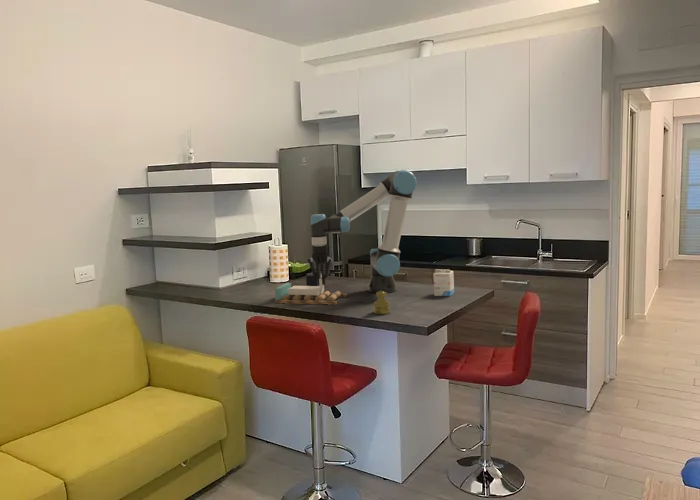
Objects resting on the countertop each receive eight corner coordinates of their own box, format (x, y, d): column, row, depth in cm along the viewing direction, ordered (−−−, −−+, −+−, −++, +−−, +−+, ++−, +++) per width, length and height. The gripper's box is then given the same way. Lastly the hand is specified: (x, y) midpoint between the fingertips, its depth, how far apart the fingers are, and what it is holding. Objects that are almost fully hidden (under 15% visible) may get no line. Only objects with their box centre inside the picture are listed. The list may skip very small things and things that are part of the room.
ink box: (454, 293, 285) (454, 267, 283) (450, 296, 277) (449, 270, 275) (438, 292, 288) (437, 266, 286) (433, 295, 281) (433, 269, 279)
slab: (323, 292, 285) (323, 286, 285) (318, 295, 278) (318, 289, 277) (294, 291, 290) (294, 285, 289) (288, 294, 282) (288, 288, 282)
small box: (318, 294, 296) (317, 275, 295) (306, 294, 297) (305, 275, 296) (323, 290, 306) (322, 271, 305) (311, 290, 308) (310, 271, 306)
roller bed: (347, 296, 288) (346, 290, 287) (335, 304, 270) (335, 298, 269) (290, 295, 297) (289, 289, 296) (275, 303, 279) (275, 296, 278)
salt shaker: (375, 310, 255) (375, 289, 254) (391, 310, 253) (391, 289, 251) (371, 314, 248) (371, 292, 247) (388, 314, 246) (387, 292, 244)
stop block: (291, 296, 294) (290, 283, 293) (281, 302, 281) (280, 288, 280) (286, 296, 295) (285, 283, 294) (275, 302, 281) (274, 288, 281)
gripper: (333, 243, 280) (336, 289, 283) (309, 244, 283) (312, 289, 286) (329, 245, 273) (331, 292, 275) (304, 246, 276) (307, 292, 279)
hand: (322, 291), depth 281 cm, fingers closed
